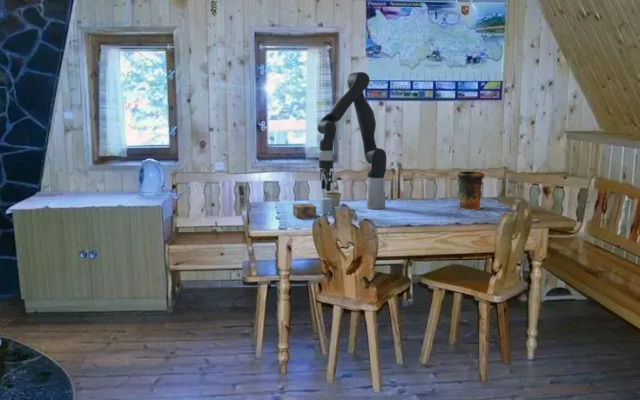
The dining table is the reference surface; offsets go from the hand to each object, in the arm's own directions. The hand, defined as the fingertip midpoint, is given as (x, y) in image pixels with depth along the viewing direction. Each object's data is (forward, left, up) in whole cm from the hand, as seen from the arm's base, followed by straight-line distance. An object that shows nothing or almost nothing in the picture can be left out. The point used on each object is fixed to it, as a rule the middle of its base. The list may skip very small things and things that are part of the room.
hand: (325, 189), depth 336 cm
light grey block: (0, 0, -13) cm, 13 cm away
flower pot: (-8, -13, -13) cm, 20 cm away
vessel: (-81, +7, -13) cm, 83 cm away
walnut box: (+13, +4, -13) cm, 19 cm away
